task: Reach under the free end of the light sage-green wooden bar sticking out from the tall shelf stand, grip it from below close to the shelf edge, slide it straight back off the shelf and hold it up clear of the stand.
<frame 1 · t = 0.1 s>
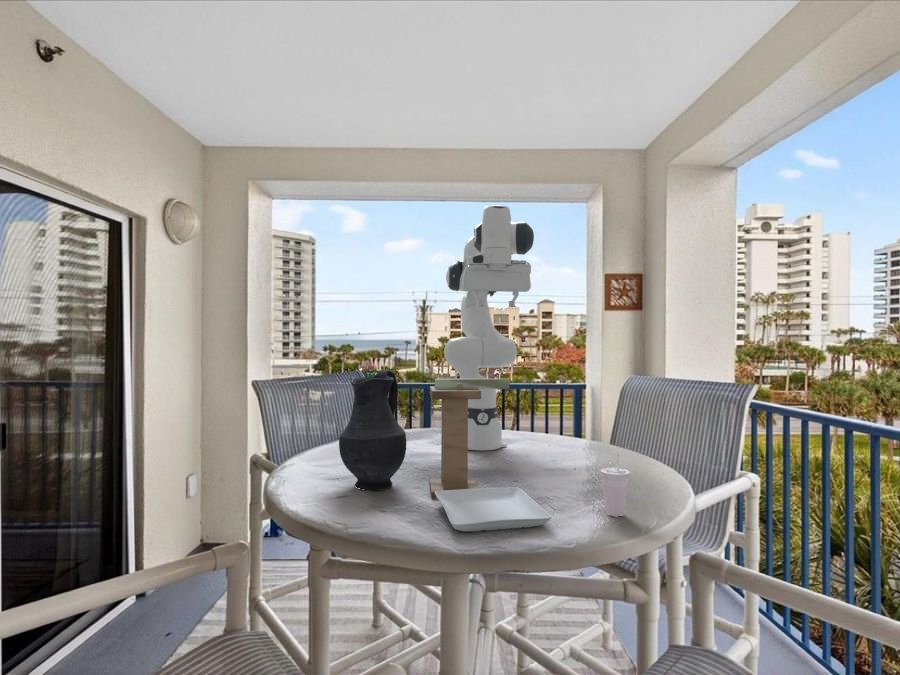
hand: (495, 306, 151), 48 cm above the table, tool pointing down, fingers open, 8 cm apart
shelf stand: (453, 490, 131), on the table
pitcher: (376, 484, 136), on the table
salad plate: (489, 518, 113), on the table
bar: (472, 388, 131), point 26 cm above the table, touching shelf stand
smoothie: (614, 515, 114), on the table
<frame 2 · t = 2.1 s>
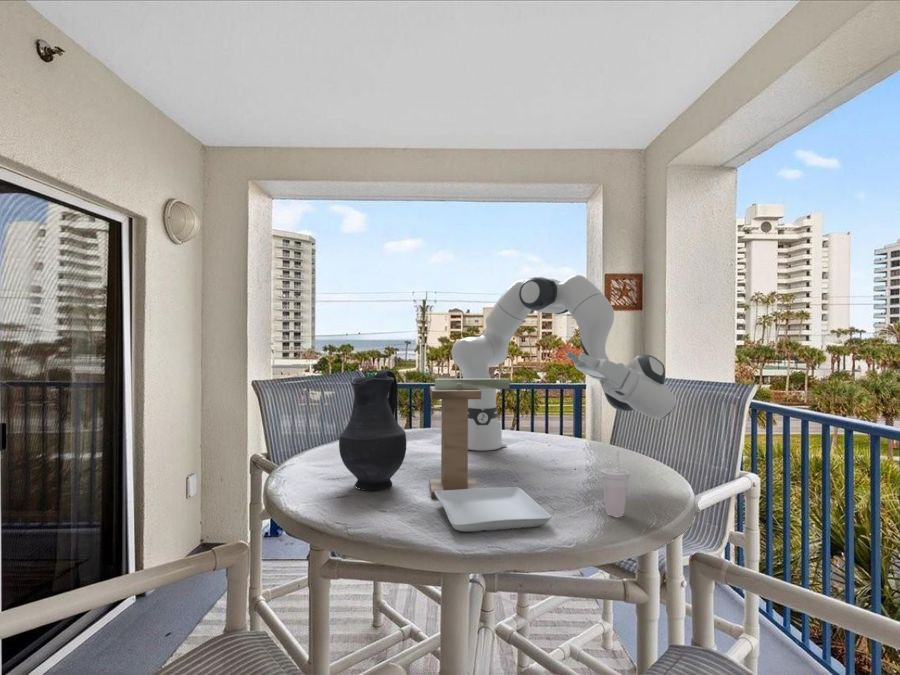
hand: (573, 354, 134), 35 cm above the table, tool pointing upward, fingers open, 8 cm apart
nothing on the table moved.
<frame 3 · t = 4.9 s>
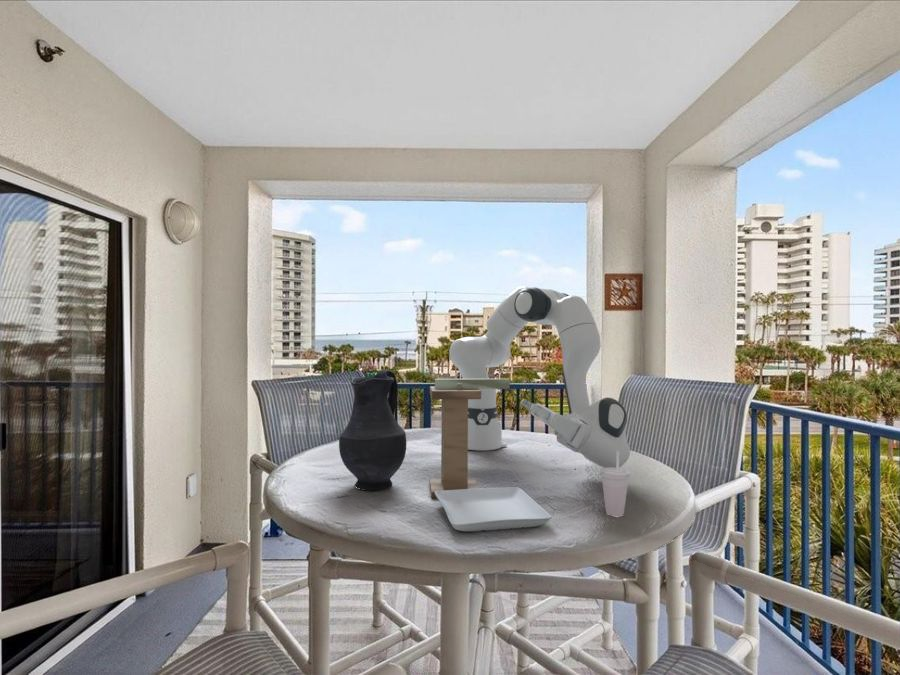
hand: (526, 404, 133), 22 cm above the table, tool pointing upward, fingers open, 8 cm apart
nothing on the table moved.
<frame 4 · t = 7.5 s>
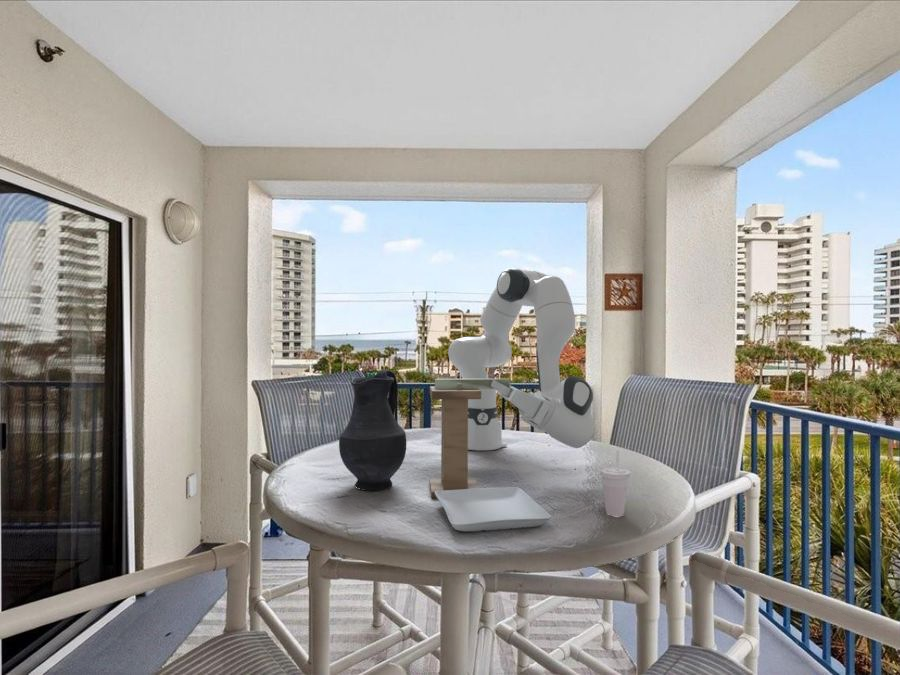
hand: (490, 381, 132), 28 cm above the table, tool pointing upward, fingers closed on bar, 2 cm apart
bar: (472, 388, 131), point 26 cm above the table, touching gripper, shelf stand
everything else where it was.
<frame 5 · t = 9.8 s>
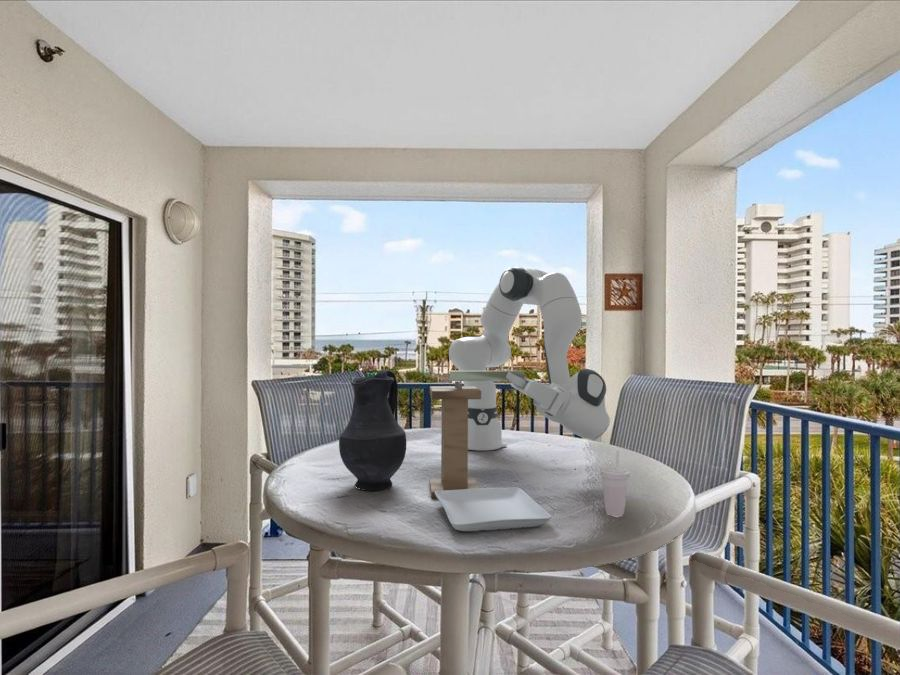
hand: (505, 373, 132), 30 cm above the table, tool pointing upward, fingers closed on bar, 2 cm apart
bar: (486, 380, 132), point 28 cm above the table, touching gripper
everything else where it was.
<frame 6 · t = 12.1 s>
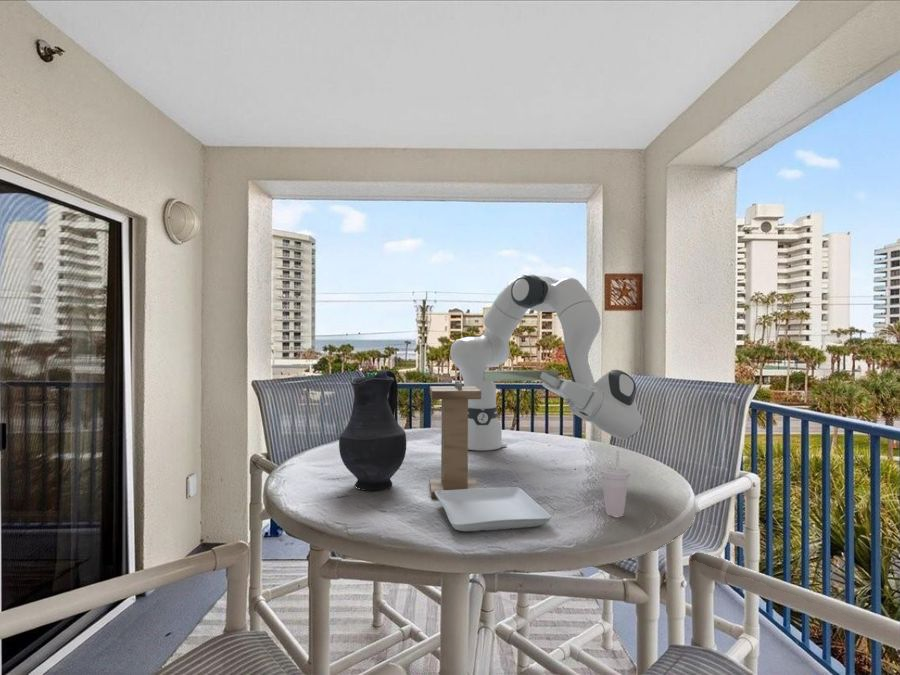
hand: (538, 373, 133), 30 cm above the table, tool pointing upward, fingers closed on bar, 2 cm apart
bar: (520, 380, 132), point 28 cm above the table, touching gripper
everything else where it was.
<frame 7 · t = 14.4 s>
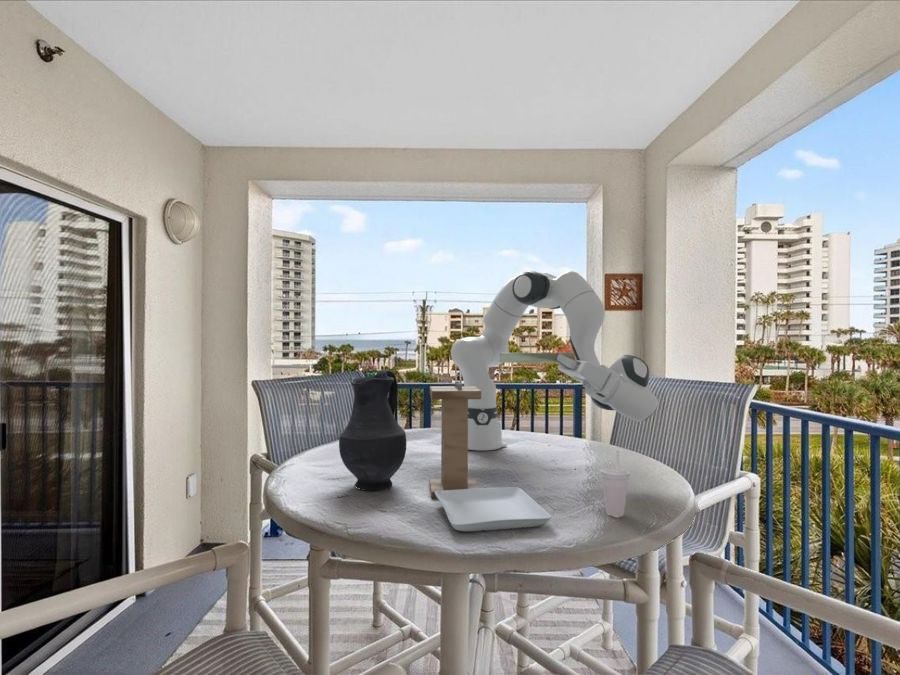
hand: (555, 355, 133), 34 cm above the table, tool pointing upward, fingers closed on bar, 2 cm apart
bar: (537, 362, 133), point 33 cm above the table, touching gripper
everything else where it was.
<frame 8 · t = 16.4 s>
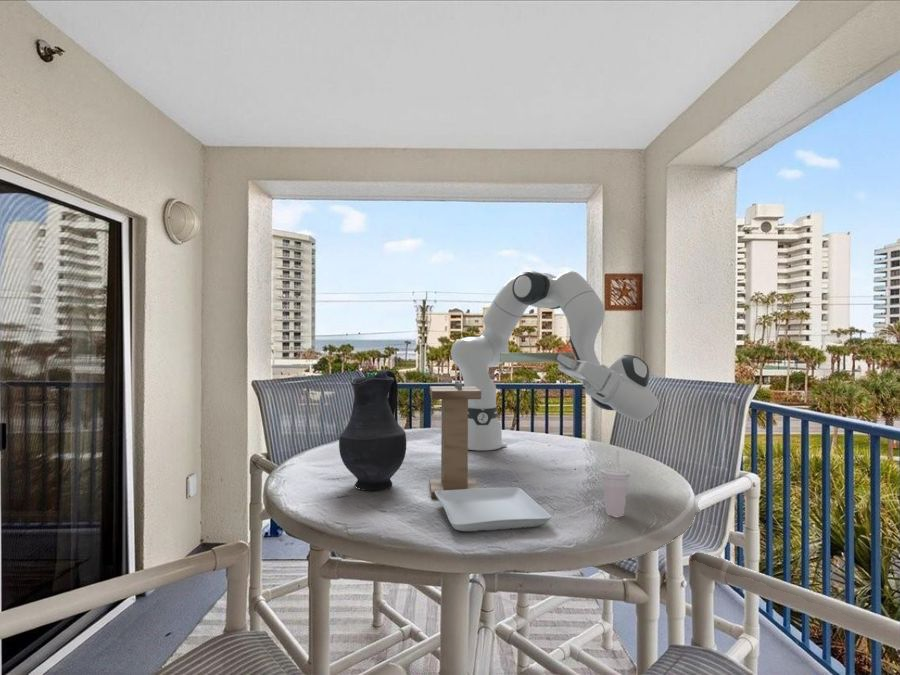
hand: (555, 355, 133), 34 cm above the table, tool pointing upward, fingers closed on bar, 2 cm apart
bar: (537, 362, 133), point 33 cm above the table, touching gripper
everything else where it was.
at the end: the gripper is holding bar; bar touching gripper; bar inside the target area (1.0 cm from its centre), point 32.7 cm above the table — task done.
